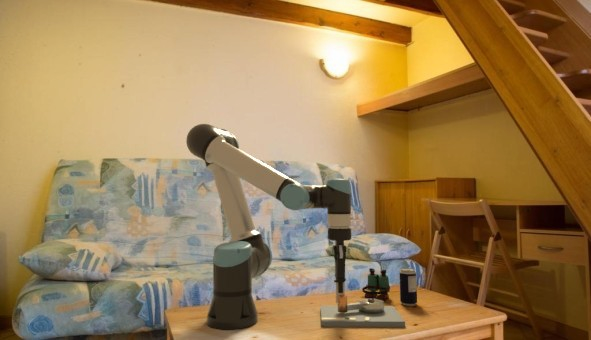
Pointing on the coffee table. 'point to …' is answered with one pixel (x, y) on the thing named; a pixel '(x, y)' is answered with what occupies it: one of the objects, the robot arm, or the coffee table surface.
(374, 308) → the cam lever
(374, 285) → the binoculars
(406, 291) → the beverage can
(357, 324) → the level board
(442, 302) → the coffee table surface
